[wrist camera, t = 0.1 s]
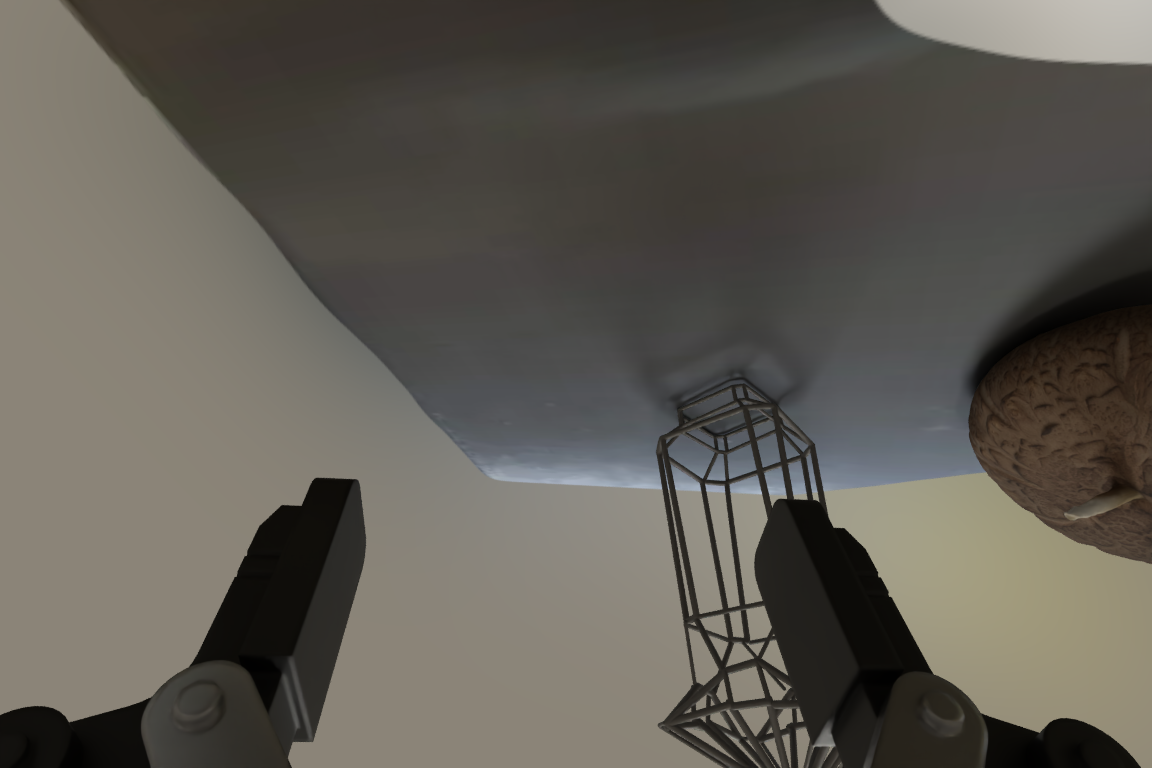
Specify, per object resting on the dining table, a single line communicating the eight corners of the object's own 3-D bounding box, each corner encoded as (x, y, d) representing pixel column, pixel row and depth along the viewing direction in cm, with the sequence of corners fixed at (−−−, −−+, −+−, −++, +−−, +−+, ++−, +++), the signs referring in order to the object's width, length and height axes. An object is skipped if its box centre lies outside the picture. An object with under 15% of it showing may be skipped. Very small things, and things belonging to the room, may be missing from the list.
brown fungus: (998, 258, 51) (1401, 474, 34) (1178, 214, 58) (1586, 373, 41) (882, 491, 69) (1106, 711, 51) (1031, 435, 76) (1271, 611, 59)
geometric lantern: (625, 405, 67) (651, 808, 47) (764, 343, 58) (868, 801, 38) (704, 459, 77) (753, 811, 56) (832, 413, 68) (943, 806, 48)
